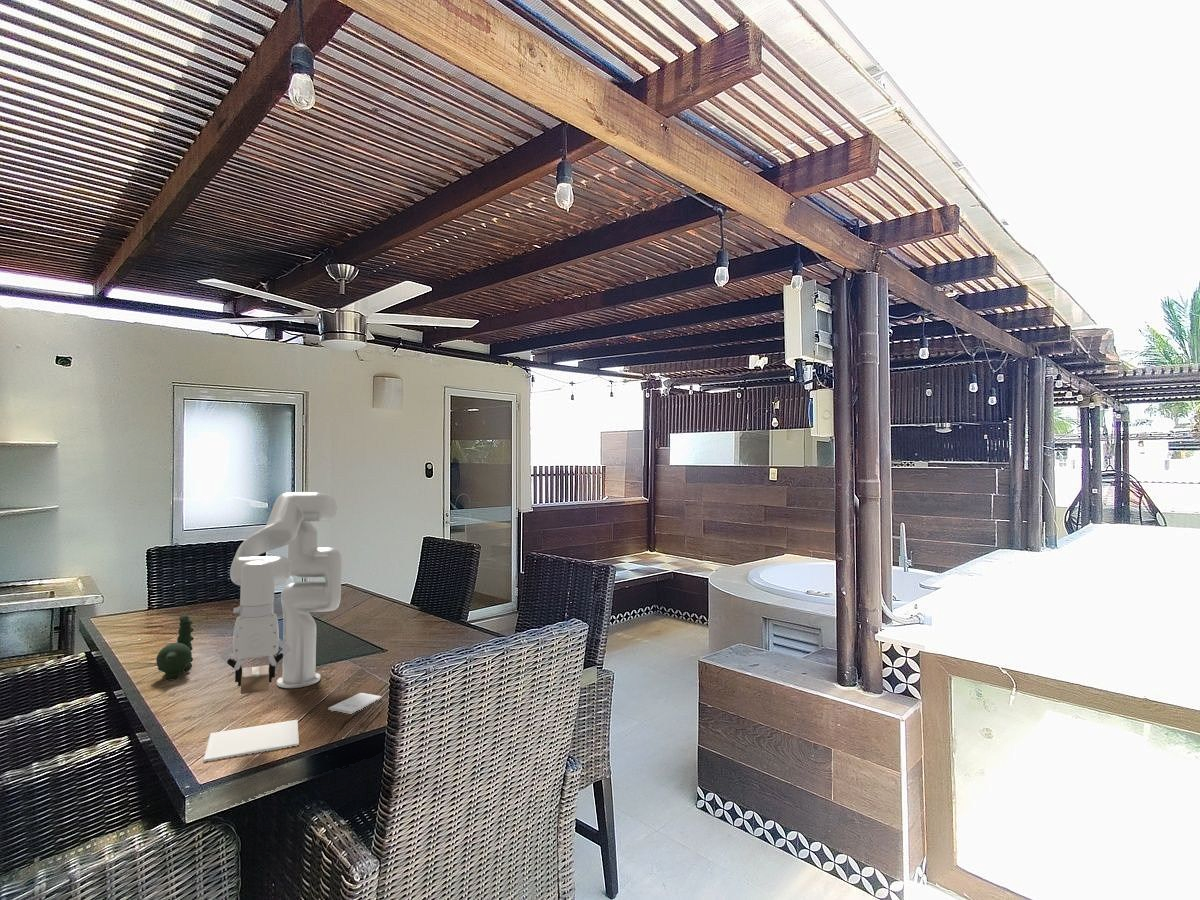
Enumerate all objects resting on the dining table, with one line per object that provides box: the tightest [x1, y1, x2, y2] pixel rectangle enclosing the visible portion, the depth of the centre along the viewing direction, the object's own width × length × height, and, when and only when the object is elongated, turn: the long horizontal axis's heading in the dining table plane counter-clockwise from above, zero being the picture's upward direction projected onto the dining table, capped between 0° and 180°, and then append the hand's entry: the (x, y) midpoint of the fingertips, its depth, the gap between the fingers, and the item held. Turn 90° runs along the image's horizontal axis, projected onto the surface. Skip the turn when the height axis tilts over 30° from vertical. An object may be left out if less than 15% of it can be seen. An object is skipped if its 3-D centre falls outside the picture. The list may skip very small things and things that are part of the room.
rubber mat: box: [203, 719, 300, 763], centre depth 157 cm, size 16×20×1 cm
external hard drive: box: [327, 692, 383, 715], centre depth 181 cm, size 2×8×12 cm
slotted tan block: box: [240, 664, 270, 695], centre depth 157 cm, size 6×10×4 cm, turn 28°
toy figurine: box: [155, 613, 194, 681], centre depth 207 cm, size 9×19×25 cm
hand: (255, 681), depth 157 cm, fingers closed on slotted tan block, 6 cm apart
